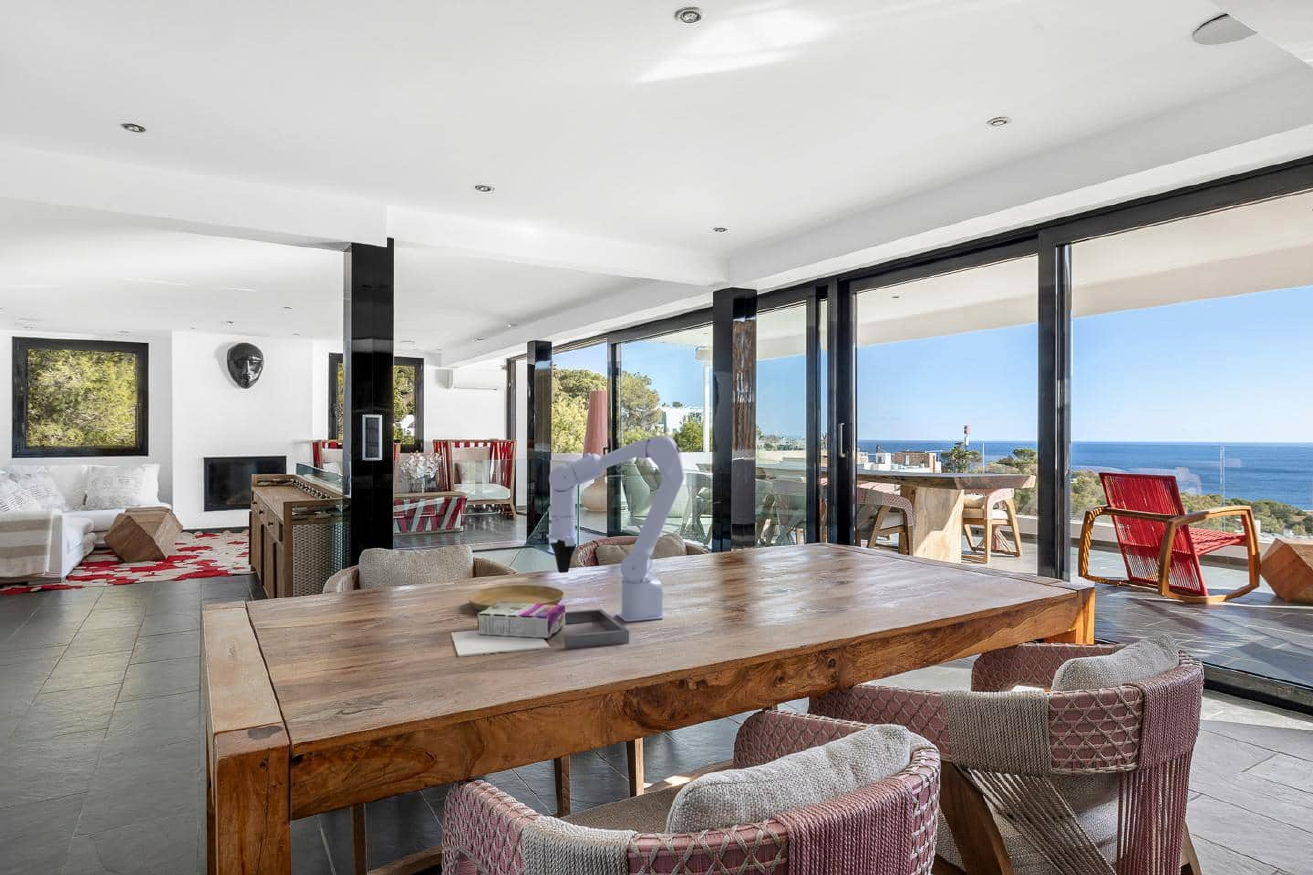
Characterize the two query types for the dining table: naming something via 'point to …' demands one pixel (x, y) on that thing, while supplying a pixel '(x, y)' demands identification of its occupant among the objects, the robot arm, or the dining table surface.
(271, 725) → the dining table surface
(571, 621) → the gray u-shaped frame
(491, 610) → the candy bar box
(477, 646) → the mat
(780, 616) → the dining table surface
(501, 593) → the plant saucer
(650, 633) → the dining table surface
